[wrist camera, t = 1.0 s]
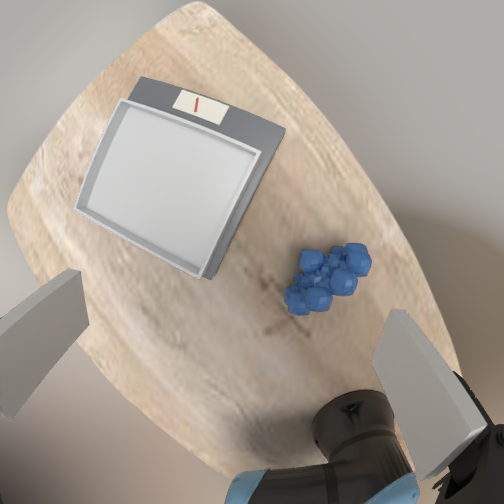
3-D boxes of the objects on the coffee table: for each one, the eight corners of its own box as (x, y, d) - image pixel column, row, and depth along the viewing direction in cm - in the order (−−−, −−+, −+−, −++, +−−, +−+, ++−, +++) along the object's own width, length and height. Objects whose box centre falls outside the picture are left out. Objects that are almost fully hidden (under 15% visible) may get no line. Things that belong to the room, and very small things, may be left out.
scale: (284, 134, 34) (287, 121, 28) (215, 274, 38) (205, 287, 32) (148, 83, 34) (131, 67, 28) (91, 208, 37) (67, 210, 31)
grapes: (330, 214, 36) (358, 218, 24) (359, 253, 36) (397, 273, 24) (263, 270, 37) (261, 300, 25) (295, 307, 38) (305, 348, 26)
